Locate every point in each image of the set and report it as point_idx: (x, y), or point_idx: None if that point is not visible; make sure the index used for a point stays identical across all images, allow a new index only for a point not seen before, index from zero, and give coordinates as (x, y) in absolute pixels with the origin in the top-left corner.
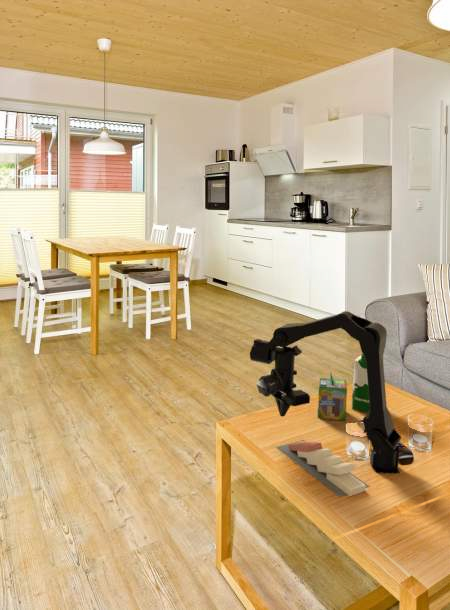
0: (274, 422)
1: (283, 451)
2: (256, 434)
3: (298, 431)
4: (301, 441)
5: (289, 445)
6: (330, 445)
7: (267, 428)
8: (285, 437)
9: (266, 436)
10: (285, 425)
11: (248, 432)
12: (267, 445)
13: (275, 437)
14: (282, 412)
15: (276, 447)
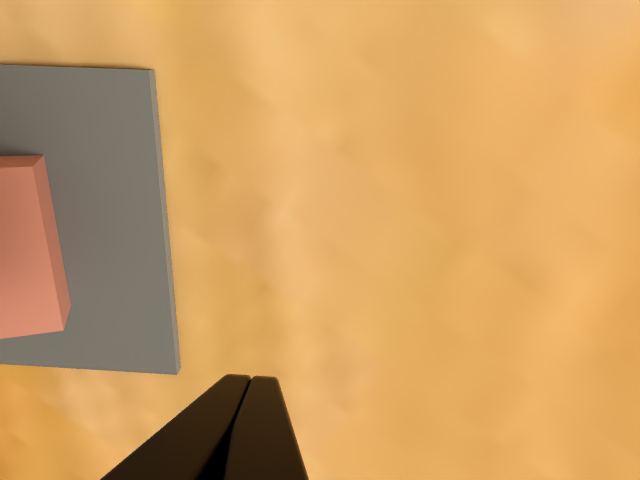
0: (604, 376)
1: (40, 86)
2: (522, 67)
3: (341, 432)
4: (38, 312)
5: (12, 165)
6: (48, 473)
7: (553, 252)
8: (305, 286)
9: (420, 140)
10: (492, 415)
11: (623, 7)
12: (247, 27)
13: (353, 207)
14: (162, 439)
15: (138, 71)
